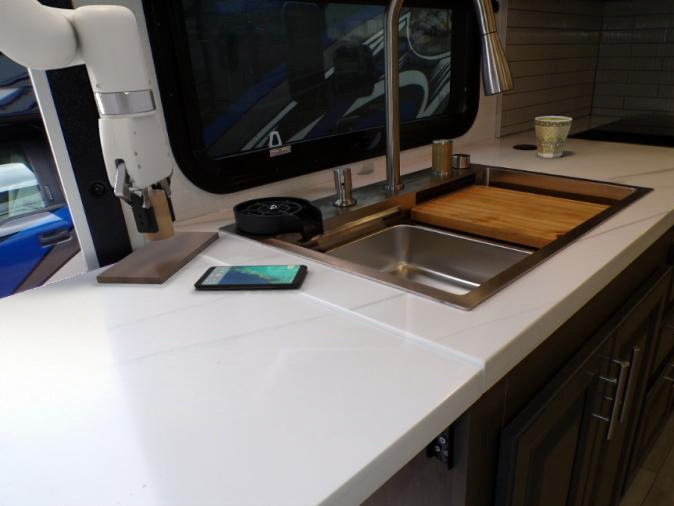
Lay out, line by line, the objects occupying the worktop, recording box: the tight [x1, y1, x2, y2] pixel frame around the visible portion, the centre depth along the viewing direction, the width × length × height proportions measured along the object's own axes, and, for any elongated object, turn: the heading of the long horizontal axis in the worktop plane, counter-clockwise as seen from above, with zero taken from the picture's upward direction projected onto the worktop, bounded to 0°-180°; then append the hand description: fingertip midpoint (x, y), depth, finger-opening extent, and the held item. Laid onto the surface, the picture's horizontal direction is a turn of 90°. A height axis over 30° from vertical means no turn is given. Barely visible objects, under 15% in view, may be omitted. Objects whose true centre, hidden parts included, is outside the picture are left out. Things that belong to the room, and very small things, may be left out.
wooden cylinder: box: [135, 189, 176, 242], centre depth 82 cm, size 4×4×7 cm
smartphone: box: [193, 264, 308, 290], centre depth 76 cm, size 7×1×15 cm
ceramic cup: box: [534, 115, 573, 159], centre depth 148 cm, size 13×10×10 cm
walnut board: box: [95, 231, 220, 285], centre depth 85 cm, size 10×20×1 cm, turn 174°
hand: (157, 225), depth 83 cm, fingers closed on wooden cylinder, 4 cm apart
